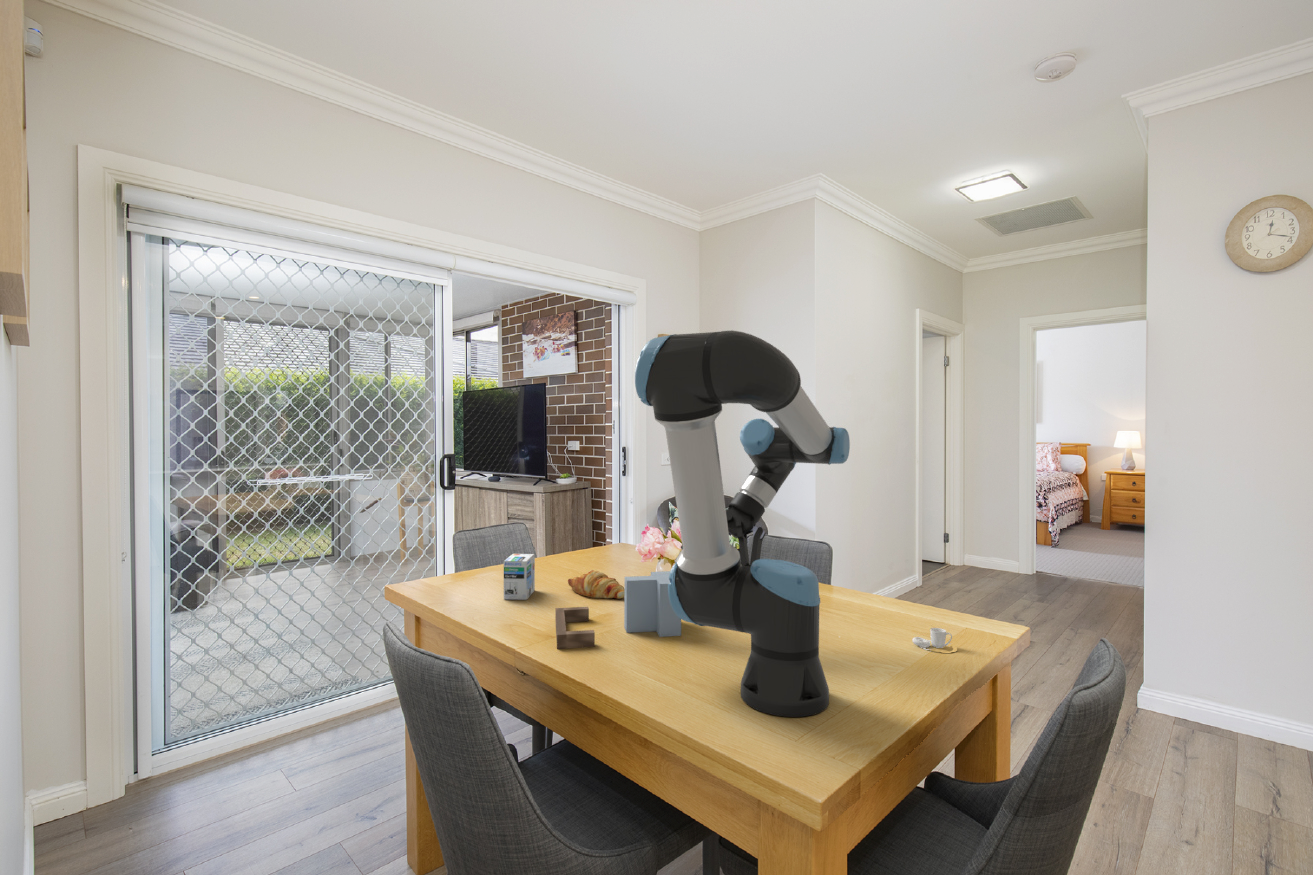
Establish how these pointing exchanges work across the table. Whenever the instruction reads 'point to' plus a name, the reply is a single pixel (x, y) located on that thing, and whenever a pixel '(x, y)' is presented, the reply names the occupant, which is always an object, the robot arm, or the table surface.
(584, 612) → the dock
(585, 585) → the croissant
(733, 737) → the table surface
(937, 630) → the teacup and saucer
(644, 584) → the t block
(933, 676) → the table surface
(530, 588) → the light bulb box
